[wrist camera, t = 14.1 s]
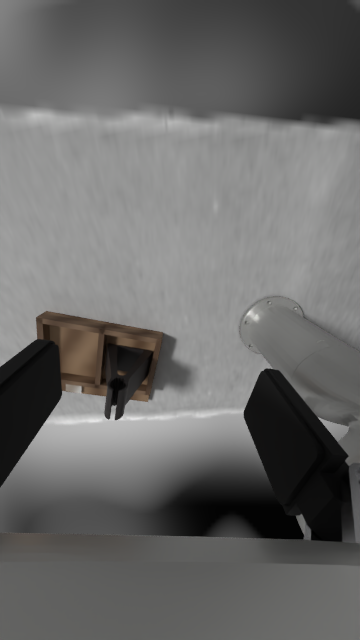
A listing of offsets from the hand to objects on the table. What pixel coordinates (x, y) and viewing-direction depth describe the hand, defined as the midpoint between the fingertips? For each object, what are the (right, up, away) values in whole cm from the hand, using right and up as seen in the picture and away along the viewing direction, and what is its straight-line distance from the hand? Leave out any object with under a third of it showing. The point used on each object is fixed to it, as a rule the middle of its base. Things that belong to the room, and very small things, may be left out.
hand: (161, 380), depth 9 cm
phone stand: (-10, -5, +31) cm, 33 cm away
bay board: (-15, -6, +32) cm, 36 cm away
